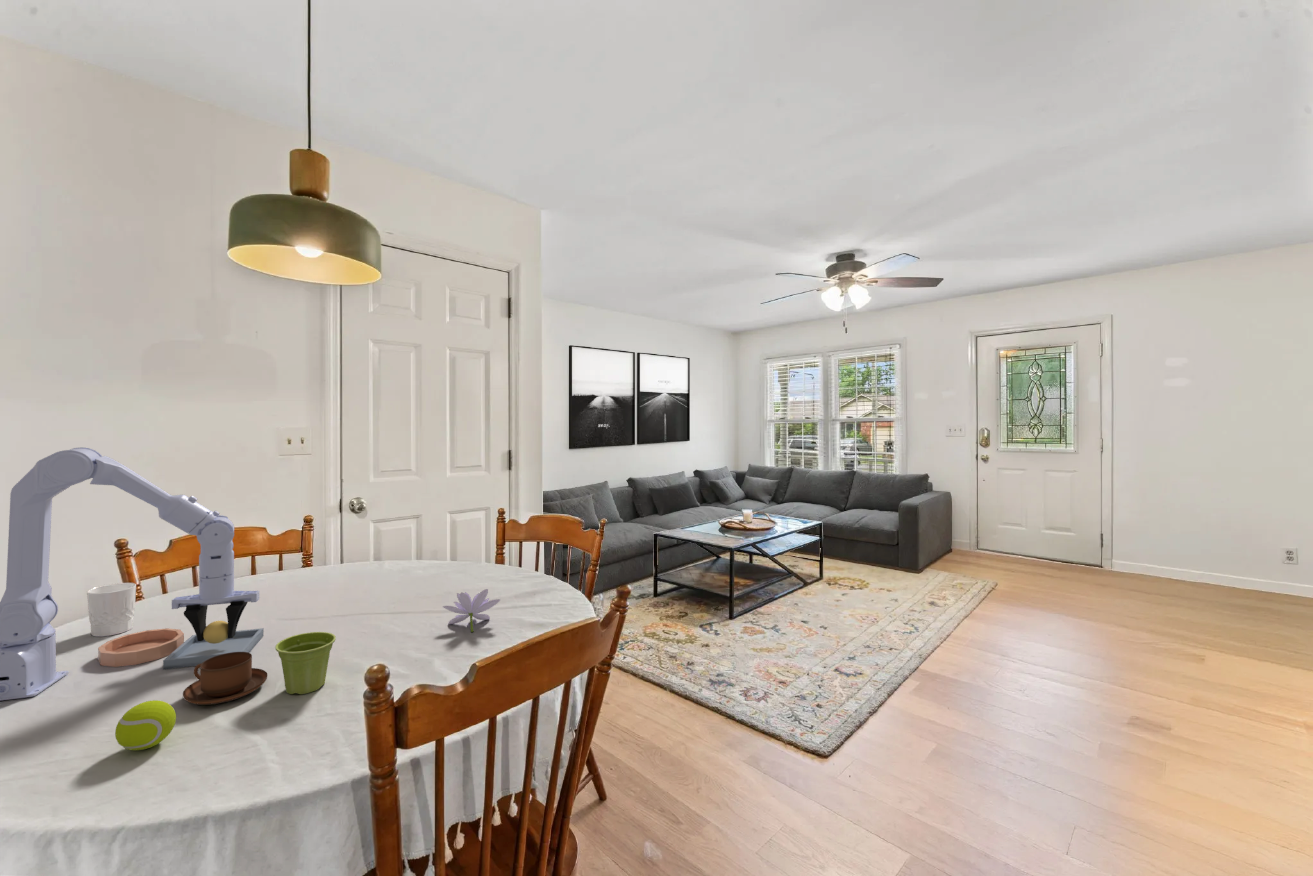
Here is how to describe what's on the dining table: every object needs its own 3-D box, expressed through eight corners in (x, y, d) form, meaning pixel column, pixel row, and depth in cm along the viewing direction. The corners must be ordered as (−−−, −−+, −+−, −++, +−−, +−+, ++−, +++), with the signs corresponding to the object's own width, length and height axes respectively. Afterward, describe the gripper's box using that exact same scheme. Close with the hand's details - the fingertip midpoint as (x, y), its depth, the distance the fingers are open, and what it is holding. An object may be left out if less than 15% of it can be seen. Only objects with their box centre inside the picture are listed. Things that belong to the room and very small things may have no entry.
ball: (226, 645, 113) (226, 623, 112) (199, 648, 111) (199, 626, 111) (234, 637, 117) (234, 616, 117) (207, 640, 115) (207, 618, 115)
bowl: (165, 661, 109) (165, 648, 109) (84, 670, 104) (83, 657, 104) (193, 637, 121) (193, 625, 120) (120, 644, 116) (120, 632, 116)
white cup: (105, 639, 118) (104, 594, 118) (77, 636, 120) (77, 591, 119) (145, 626, 126) (145, 584, 126) (119, 623, 128) (119, 581, 127)
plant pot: (324, 670, 107) (324, 627, 106) (343, 686, 101) (343, 640, 100) (268, 688, 99) (268, 641, 99) (285, 706, 93) (285, 657, 93)
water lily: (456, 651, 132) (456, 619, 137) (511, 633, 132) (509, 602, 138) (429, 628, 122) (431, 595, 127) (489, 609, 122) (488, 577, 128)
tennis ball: (110, 766, 77) (109, 720, 76) (120, 742, 82) (120, 700, 82) (172, 750, 81) (172, 706, 80) (178, 728, 86) (178, 687, 86)
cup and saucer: (166, 715, 90) (166, 679, 90) (204, 681, 101) (204, 649, 101) (250, 706, 93) (250, 671, 93) (278, 674, 105) (278, 643, 105)
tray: (243, 660, 110) (243, 651, 110) (163, 669, 105) (163, 660, 105) (263, 635, 122) (263, 628, 122) (192, 643, 117) (192, 635, 117)
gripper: (263, 566, 120) (263, 627, 120) (182, 572, 114) (182, 634, 115) (253, 575, 113) (253, 639, 113) (166, 581, 108) (166, 648, 108)
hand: (216, 638), depth 114 cm, fingers closed on ball, 4 cm apart
